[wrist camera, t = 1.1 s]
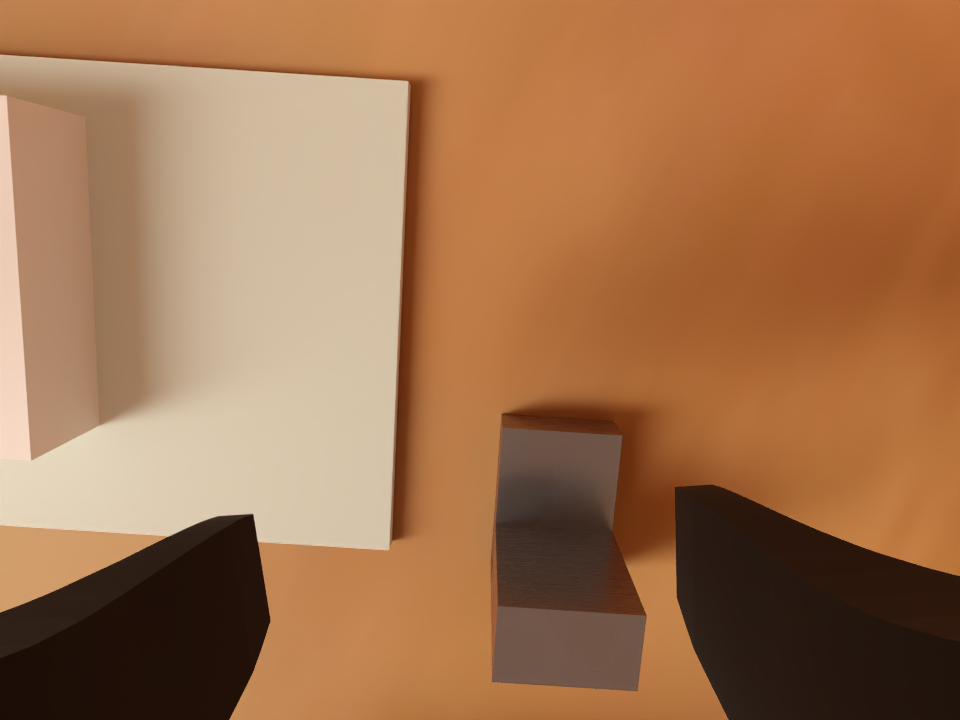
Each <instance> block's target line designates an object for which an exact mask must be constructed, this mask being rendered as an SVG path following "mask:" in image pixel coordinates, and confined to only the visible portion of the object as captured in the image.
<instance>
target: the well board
mask: <svg viewBox="0 0 960 720" xmlns="http://www.w3.org/2000/svg"><path fill="white" fill-rule="evenodd" d="M410 93H411V85H410V83H409V81H399V80H384V79H368V78H353V77H337V76H322V75H307V74H291V73H276V72H260V71H245V70H229V69H214V68H198V67H183V66H168V65H152V64H137V63H121V62H106V61H90V60H75V59H59V58H44V57H29V56H13V55H0V525H4V526H19V527H35V528H50V529H66V530H81V531H97V532H112V533H128V534H144V535H159V536H171V535H173V534H175V533H177V532H179V531H182V530H184V529H186V528H188V527H190V526H192V525H195V524H197V523H200V522H202V521H205V520H207V519H210V518H214V517H217V516H227V515H243V514H253V515H254V521H255V527H256V533H257V540H258V542H268V543H284V544H299V545H315V546H330V547H346V548H361V549H377V550H390V546H391V543H392V528H393V504H394V480H395V456H396V431H397V407H398V383H399V359H400V335H401V311H402V286H403V262H404V238H405V214H406V190H407V166H408V141H409V117H410Z"/></svg>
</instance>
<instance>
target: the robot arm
mask: <svg viewBox="0 0 960 720" xmlns="http://www.w3.org/2000/svg"><path fill="white" fill-rule="evenodd" d="M675 516H676V575H677V599H678V602H679V605H680V609H681V612H682V615H683V618H684V621H685V624H686V627H687V630H688V633H689V636H690V639H691V642H692V645H693V648H694V650H695V652H696V654H697V656H698V658H699V660H700V663H701V665H702V667H703V669H704V671H705V673H706V675H707V677H708V679H709V681H710V683H711V685H712V687H713V689H714V691H715V693H716V695H717V697H718V699H719V701H720V703H721V705H722V707H723V709H724V711H725V713H726V715H727V717H728V719H729V720H960V576H956V575H952V574H948V573H945V572H941V571H937V570H933V569H929V568H926V567H922V566H919V565H916V564H912V563H909V562H906V561H903V560H899V559H896V558H893V557H890V556H886V555H883V554H880V553H877V552H874V551H871V550H868V549H865V548H862V547H860V546H857V545H854V544H852V543H849V542H847V541H844V540H841V539H839V538H836V537H834V536H831V535H829V534H826V533H824V532H821V531H819V530H816V529H814V528H812V527H809V526H807V525H805V524H802V523H800V522H798V521H795V520H793V519H791V518H789V517H787V516H784V515H782V514H780V513H778V512H776V511H773V510H771V509H769V508H767V507H765V506H763V505H760V504H758V503H756V502H754V501H752V500H750V499H747V498H745V497H743V496H741V495H738V494H736V493H734V492H732V491H729V490H727V489H724V488H721V487H718V486H714V485H701V486H686V487H675ZM269 623H270V614H269V608H268V602H267V596H266V590H265V583H264V577H263V571H262V565H261V558H260V552H259V546H258V540H257V533H256V527H255V521H254V515H253V514H243V515H227V516H217V517H214V518H210V519H207V520H205V521H202V522H200V523H197V524H195V525H192V526H190V527H188V528H186V529H184V530H182V531H179V532H177V533H175V534H173V535H171V536H169V537H167V538H165V539H163V540H161V541H159V542H157V543H155V544H153V545H151V546H149V547H147V548H145V549H143V550H141V551H139V552H137V553H135V554H133V555H131V556H129V557H127V558H125V559H123V560H121V561H119V562H116V563H114V564H112V565H110V566H108V567H106V568H104V569H101V570H99V571H97V572H95V573H93V574H91V575H88V576H86V577H84V578H82V579H80V580H78V581H76V582H73V583H71V584H69V585H67V586H65V587H63V588H60V589H58V590H56V591H54V592H51V593H49V594H47V595H44V596H42V597H39V598H37V599H35V600H32V601H30V602H27V603H25V604H22V605H20V606H17V607H14V608H12V609H9V610H6V611H4V612H1V613H0V720H229V719H230V717H231V715H232V713H233V711H234V709H235V707H236V705H237V703H238V701H239V699H240V697H241V695H242V693H243V691H244V689H245V687H246V685H247V683H248V681H249V679H250V677H251V675H252V673H253V671H254V668H255V665H256V662H257V660H258V657H259V654H260V651H261V648H262V645H263V642H264V639H265V636H266V633H267V630H268V627H269Z"/></svg>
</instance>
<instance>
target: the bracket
mask: <svg viewBox="0 0 960 720" xmlns="http://www.w3.org/2000/svg"><path fill="white" fill-rule="evenodd" d="M622 437H623V435H622V434H621V432H620V431H619V429H618V428H617V426H616V424H615V423H614V421H603V420H588V419H572V418H557V417H541V416H526V415H510V414H502V415H501V428H500V442H499V456H498V470H497V484H496V498H495V512H494V526H493V540H492V553H491V624H492V682H501V683H516V684H532V685H548V686H563V687H579V688H595V689H610V690H626V691H637V690H638V682H639V674H640V665H641V657H642V649H643V641H644V633H645V624H646V613H645V611H644V608H643V606H642V603H641V601H640V598H639V596H638V594H637V591H636V589H635V586H634V584H633V581H632V579H631V576H630V574H629V571H628V569H627V567H626V564H625V562H624V559H623V557H622V554H621V552H620V549H619V547H618V544H617V542H616V540H615V537H614V535H613V532H612V529H613V520H614V511H615V502H616V492H617V483H618V474H619V465H620V455H621V446H622Z"/></svg>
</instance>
